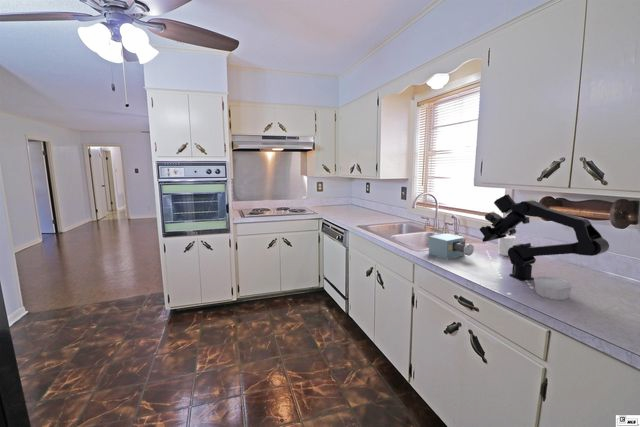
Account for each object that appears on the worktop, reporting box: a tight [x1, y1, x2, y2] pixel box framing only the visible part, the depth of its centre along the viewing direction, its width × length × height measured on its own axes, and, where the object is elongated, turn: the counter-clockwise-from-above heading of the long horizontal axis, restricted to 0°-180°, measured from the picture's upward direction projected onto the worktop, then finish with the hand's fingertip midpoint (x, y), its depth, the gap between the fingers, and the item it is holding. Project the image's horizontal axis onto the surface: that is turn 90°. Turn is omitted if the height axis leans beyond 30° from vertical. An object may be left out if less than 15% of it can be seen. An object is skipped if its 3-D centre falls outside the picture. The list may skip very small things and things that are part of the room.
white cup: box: [497, 234, 517, 257], centre depth 158 cm, size 8×8×10 cm
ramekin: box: [533, 276, 573, 301], centre depth 108 cm, size 11×11×5 cm
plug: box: [453, 242, 475, 257], centre depth 154 cm, size 14×6×6 cm, turn 26°
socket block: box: [428, 232, 467, 260], centre depth 160 cm, size 12×14×10 cm
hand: (485, 240), depth 140 cm, fingers open, 3 cm apart
